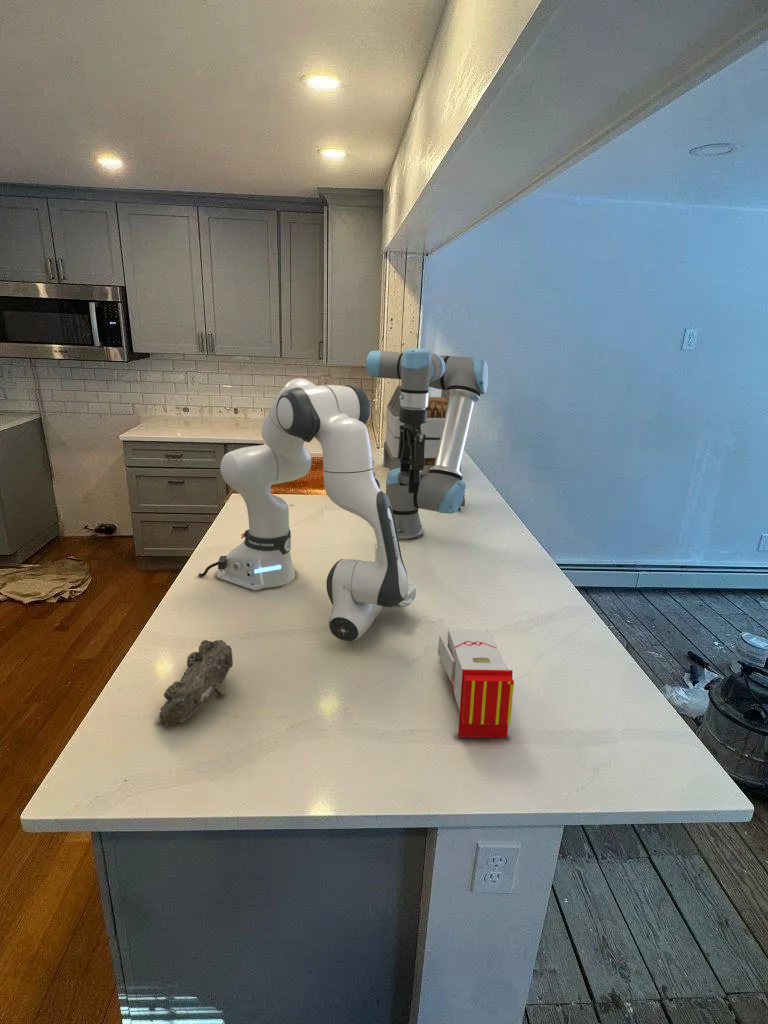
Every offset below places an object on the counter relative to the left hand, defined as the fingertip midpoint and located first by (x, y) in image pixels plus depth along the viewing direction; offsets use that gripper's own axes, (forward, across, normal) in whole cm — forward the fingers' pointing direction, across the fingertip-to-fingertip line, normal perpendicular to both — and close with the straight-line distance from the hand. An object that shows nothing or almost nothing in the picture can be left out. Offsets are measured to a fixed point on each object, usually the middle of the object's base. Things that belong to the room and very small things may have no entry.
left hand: (385, 576), depth 153 cm
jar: (-1, 0, +7) cm, 7 cm away
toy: (-31, -30, +7) cm, 44 cm away
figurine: (+82, +34, +7) cm, 89 cm away
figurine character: (+84, -2, +7) cm, 84 cm away
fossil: (-52, +21, +7) cm, 57 cm away
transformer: (+126, +25, +7) cm, 128 cm away
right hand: (+17, 0, -20) cm, 26 cm away
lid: (+17, 0, -24) cm, 30 cm away
